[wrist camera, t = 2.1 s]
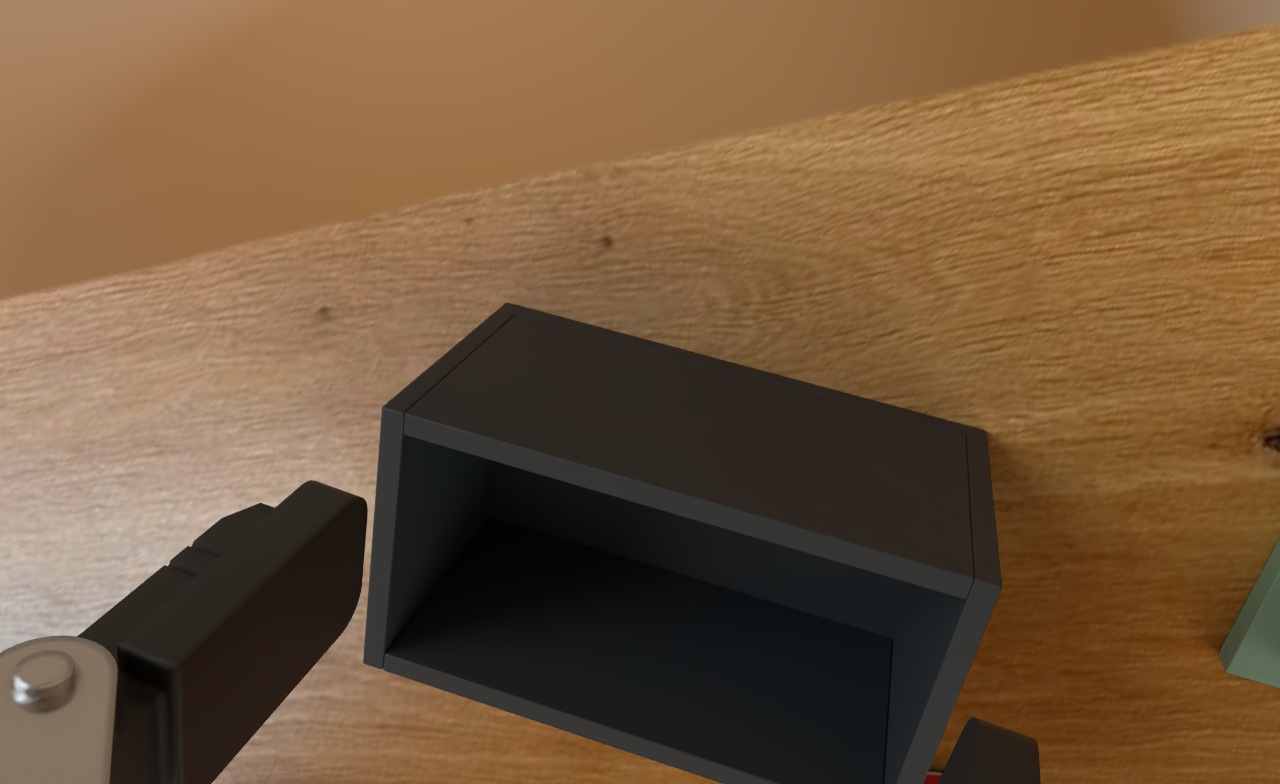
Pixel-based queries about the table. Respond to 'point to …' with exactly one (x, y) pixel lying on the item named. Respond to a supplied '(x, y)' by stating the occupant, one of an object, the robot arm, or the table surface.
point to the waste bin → (681, 554)
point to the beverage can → (932, 778)
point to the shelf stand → (1257, 630)
